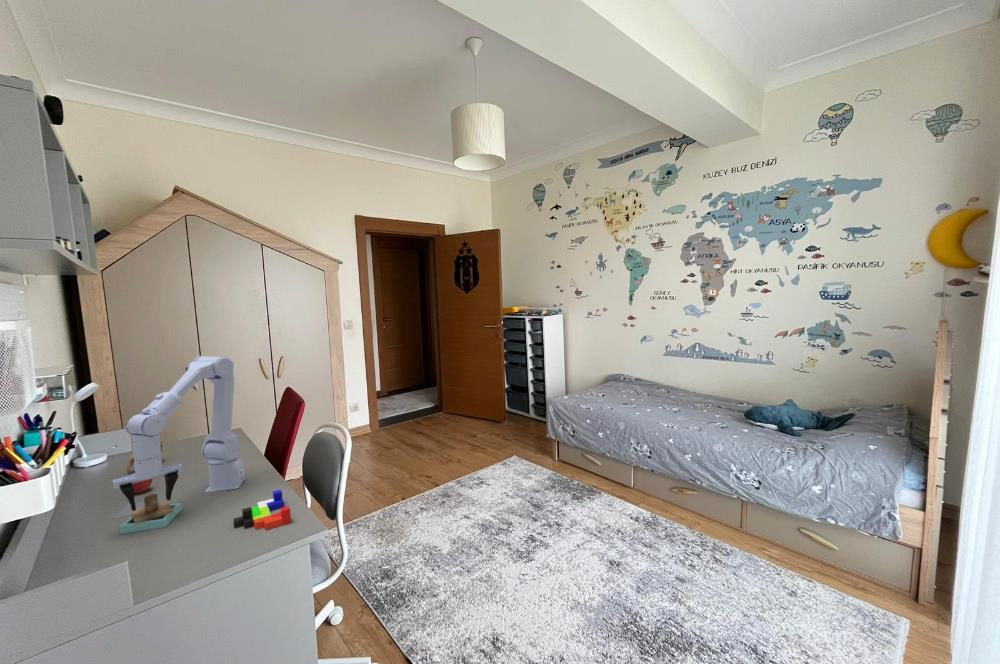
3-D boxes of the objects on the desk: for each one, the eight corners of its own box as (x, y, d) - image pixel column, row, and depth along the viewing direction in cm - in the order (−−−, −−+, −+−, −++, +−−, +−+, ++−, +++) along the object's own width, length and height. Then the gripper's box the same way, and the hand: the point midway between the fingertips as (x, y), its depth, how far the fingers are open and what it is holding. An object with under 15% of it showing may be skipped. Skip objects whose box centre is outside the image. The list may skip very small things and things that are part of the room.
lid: (167, 503, 120) (166, 487, 120) (172, 512, 115) (171, 495, 114) (131, 514, 114) (129, 496, 114) (135, 524, 109) (133, 506, 108)
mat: (169, 499, 128) (168, 498, 128) (154, 513, 119) (154, 512, 119) (130, 504, 125) (129, 503, 125) (112, 519, 116) (111, 518, 116)
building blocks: (231, 516, 118) (230, 502, 118) (281, 502, 126) (280, 489, 125) (236, 540, 106) (235, 524, 106) (291, 523, 114) (290, 508, 114)
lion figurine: (154, 460, 160) (152, 438, 159) (168, 460, 160) (166, 437, 159) (120, 476, 145) (118, 452, 145) (136, 476, 145) (134, 451, 145)
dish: (182, 510, 121) (181, 502, 120) (165, 528, 111) (164, 520, 111) (140, 516, 118) (140, 508, 117) (120, 535, 108) (119, 526, 108)
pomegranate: (138, 497, 129) (136, 473, 128) (124, 496, 130) (122, 472, 130) (157, 489, 135) (155, 466, 134) (143, 488, 136) (141, 464, 135)
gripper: (177, 446, 121) (180, 490, 122) (110, 461, 110) (114, 509, 111) (182, 452, 116) (186, 498, 117) (113, 468, 105) (117, 518, 107)
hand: (151, 504), depth 114 cm, fingers open, 7 cm apart
